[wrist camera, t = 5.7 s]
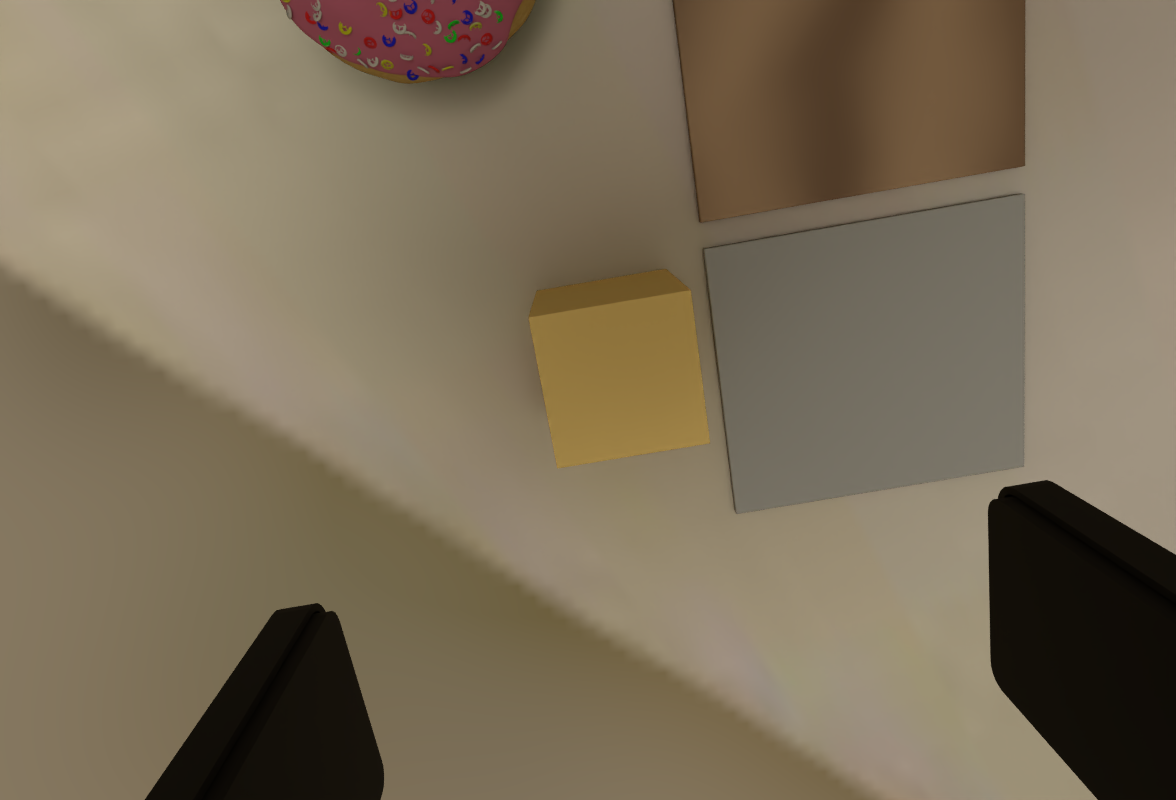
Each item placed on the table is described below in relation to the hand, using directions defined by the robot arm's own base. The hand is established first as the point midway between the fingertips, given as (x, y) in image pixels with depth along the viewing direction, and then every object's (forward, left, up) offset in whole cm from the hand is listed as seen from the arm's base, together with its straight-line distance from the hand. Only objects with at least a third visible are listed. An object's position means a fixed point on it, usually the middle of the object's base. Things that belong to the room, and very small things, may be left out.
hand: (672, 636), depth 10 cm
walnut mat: (-10, -10, -19) cm, 24 cm away
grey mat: (-10, +2, -19) cm, 22 cm away
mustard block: (0, 0, -19) cm, 19 cm away
